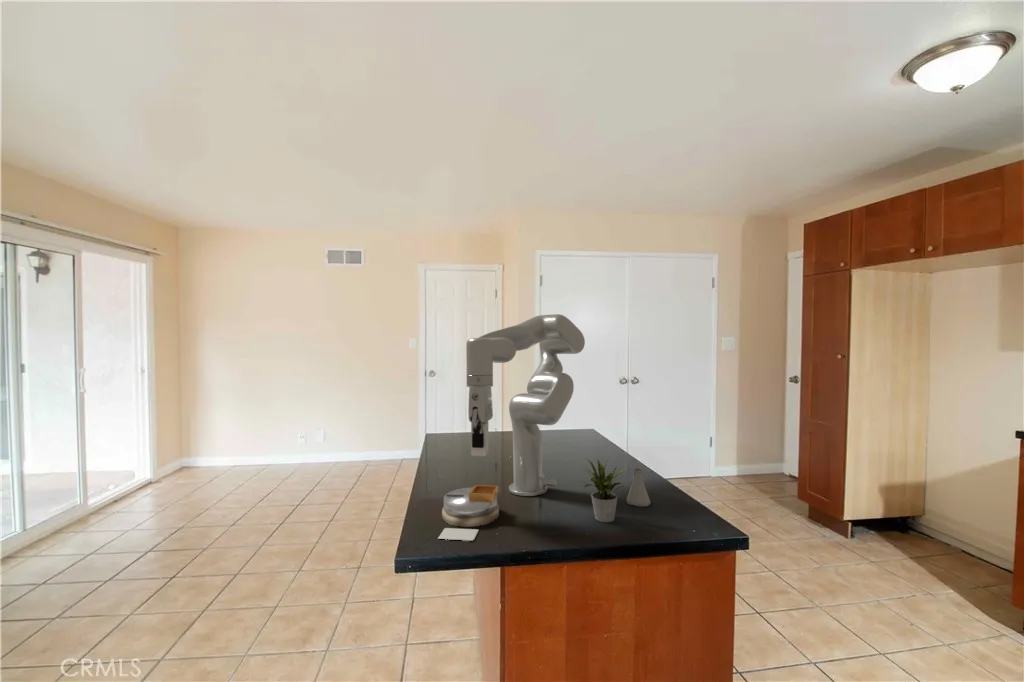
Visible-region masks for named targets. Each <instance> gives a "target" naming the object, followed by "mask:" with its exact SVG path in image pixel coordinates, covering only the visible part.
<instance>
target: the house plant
mask: <svg viewBox="0 0 1024 682" xmlns="http://www.w3.org/2000/svg"><path fill="white" fill-rule="evenodd" d="M585 460H586V461H588V462H589V463H590V465H591V468H592V471H593V472H592V471H591V469H589V468H587V467H586V466H583V465H582V467H583V470H584V471H586V472H588V474H589V475H590V478H589V480H590V481H591V482H593V484H592V483H586V482H585V481H582V480H581V482H583V483H585V485H584V486H583V488H582V490H584V489H586V488H588V487H591V486H593V487H595V488H596V489H597V491H596V490H594V492H592V493H591V494H590V496H591V502H592V508H593V513H594V518H595V520H596V521H598V522H603V523H611V522H613V521H614V520H615V516H616V509H617V508H616V507H617V503H618V494H616V493H615V491H616V490H618V489H620V488H622V487H623V488H627V486H625V485H623V483H621V482H614V480H616V478H617V477H618V476H619V475H620V474H621V473H622V472H623V471H624V470H627V469H628V467H626V468H623V469H621V470H620V471H619V472H618V473H617V474H615V472H616V470H617V468H618V466H619V465H618V464H616V466H615V468H613V470H612V472H611V473H609V474H607V475H606V472H605V470H606V467H607V463H605V464H604V465H603V464H602V463H601V462H600V460H599V458H597V470H596V467H595V465H594V463H593V462H592V461H591V460H590V459H588V458H585ZM608 460H609V459H608ZM608 460H606V462H608ZM584 468H585V469H584ZM597 471H598V472H597ZM590 473H591V474H592V475H591V474H590ZM614 475H615V476H614ZM618 485H620V486H618ZM616 486H618V487H617V488H615V487H616ZM614 488H615V489H614ZM613 489H614V490H613ZM612 490H613V491H612Z"/></svg>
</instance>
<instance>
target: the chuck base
mask: <svg viewBox="0 0 1024 682" xmlns="http://www.w3.org/2000/svg"><path fill="white" fill-rule="evenodd" d="M499 516H500V506H499V503H497V508H496V510H495V511H493V512H492V513H489V514H487V515H484V516H479V517H471V518H463V517H455V516H451V515H449V514H447V513H446V512H445V511H444V506H443V507H442V508H441V517H442V518H441V519H442V521H443V520H444V521H445V523H446V524H447V523H448V525H450V526H453V525H454V527H458V526H460V527H461V528H476V527H480V525H481V526H486V525H487V524H491V523H493V522H495V521H496V520H497V519H498V518H499ZM495 519H496V520H495ZM494 520H495V521H494ZM444 521H443V522H444ZM492 521H493V522H492ZM490 522H491V523H490ZM475 526H476V527H475Z"/></svg>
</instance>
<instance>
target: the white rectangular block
mask: <svg viewBox="0 0 1024 682" xmlns="http://www.w3.org/2000/svg"><path fill="white" fill-rule="evenodd" d="M477 422H481V421H477ZM478 425H479V426H480V424H478ZM470 428H471V429H470V430H471V431H470V433H471V434H470V437H471V439H470V440H471V441H470V445H471V447H470V452H471V454H470V455H471V456H473V457H486V456H487V455H488V454H489V421H487V422H486V423H484V422H483V432H482V433H484V447H483V448H473V447H472V426H470Z"/></svg>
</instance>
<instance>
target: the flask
mask: <svg viewBox="0 0 1024 682" xmlns="http://www.w3.org/2000/svg"><path fill="white" fill-rule="evenodd" d="M632 472H633V475H632V476H633V477H632V483H631V484H630V489H629V490H628V493H627V496H626V499H625V501H626V504H628V505H631V506H635V507H648V506H650V505H651V504H652V503H651V499H650V496H649V494H648V491H647V489H646V485H645V482H644V477H643V476H644V475H643V473H644V469H643V468H641V467H640V468H639V467H635V468H632Z"/></svg>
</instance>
